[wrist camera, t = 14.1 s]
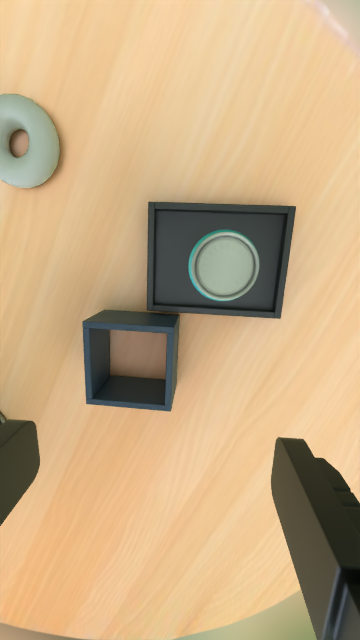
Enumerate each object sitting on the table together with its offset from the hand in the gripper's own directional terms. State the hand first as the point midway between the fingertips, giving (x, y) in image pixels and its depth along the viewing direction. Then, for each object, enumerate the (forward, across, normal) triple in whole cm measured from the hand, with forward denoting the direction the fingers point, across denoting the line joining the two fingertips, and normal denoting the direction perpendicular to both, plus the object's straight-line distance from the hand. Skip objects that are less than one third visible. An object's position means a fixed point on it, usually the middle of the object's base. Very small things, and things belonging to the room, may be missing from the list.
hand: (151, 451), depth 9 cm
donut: (+29, +21, -19) cm, 41 cm away
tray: (+29, -4, -6) cm, 30 cm away
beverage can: (+28, -4, -6) cm, 29 cm away
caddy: (+29, +7, +7) cm, 30 cm away
